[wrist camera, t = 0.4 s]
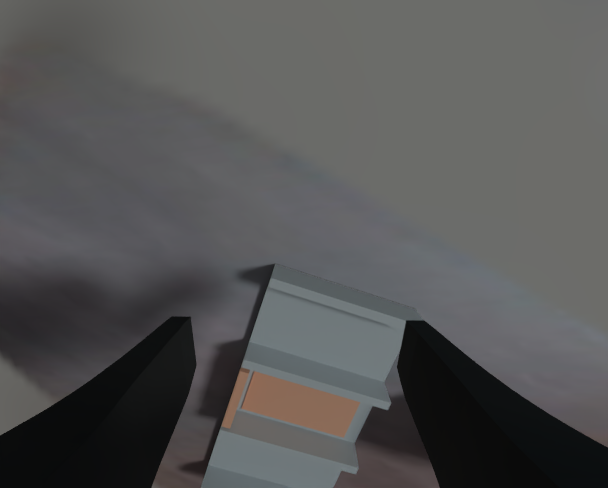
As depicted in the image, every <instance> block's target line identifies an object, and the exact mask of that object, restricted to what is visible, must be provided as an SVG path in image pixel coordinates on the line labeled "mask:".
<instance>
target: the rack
mask: <svg viewBox="0 0 608 488" xmlns="http://www.w3.org/2000/svg"><path fill="white" fill-rule="evenodd" d="M406 320H423V319H422V318H421V316H420V315H419V313H418V312H417V310H416V309H414V308H411V307H408V306H405V305H402V304H399V303H396V302H392V301H389V300H386V299H383V298H380V297H377V296H374V295H371V294H368V293H365V292H361V291H358V290H355V289H352V288H349V287H346V286H343V285H340V284H337V283H334V282H330V281H327V280H324V279H321V278H318V277H315V276H312V275H309V274H306V273H303V272H299V271H296V270H293V269H290V268H287V267H284V266H281V265H278V264H275V266H274V269H273V272H272V275H271V278H270V281H269V284H268V287H267V290H266V293H265V296H264V299H263V302H262V305H261V308H260V311H259V314H258V317H257V320H256V323H255V326H254V329H253V332H252V335H251V338H250V341H249V344H248V347H247V350H246V353H245V356H244V359H243V362H242V365H241V368H240V371H239V374H238V377H237V380H236V383H235V386H234V389H233V392H232V395H231V398H230V401H229V404H228V407H227V410H226V413H225V416H224V419H223V422H222V425H221V428H220V431H219V434H218V437H217V440H216V443H215V446H214V449H213V452H212V455H211V458H210V461H209V464H208V467H207V470H206V473H205V476H204V479H203V482H202V486H201V488H333V487H334V485H335V483H336V481H337V479H338V476H339V474H340V472H341V470H342V471H346V472H349V473H353V474H356V472H357V470H358V468H359V467H358V461H357V455H356V448H355V441H356V439H357V437H358V435H359V433H360V431H361V429H362V427H363V425H364V423H365V421H366V419H367V417H368V414H369V412H370V410H371V408H372V406H375V407H378V408H382V409H385V410H388V409H389V407H390V405H391V401H390V398H389V395H388V392H387V389H386V386H385V383H384V381H385V379H386V377H387V375H388V373H389V371H390V369H391V367H392V365H393V363H394V361H395V359H396V357H397V355H398V352H399V350H400V348H401V344H402V339H403V334H404V329H405V323H406ZM423 321H424V320H423Z"/></svg>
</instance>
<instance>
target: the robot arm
mask: <svg viewBox="0 0 608 488" xmlns="http://www.w3.org/2000/svg"><path fill="white" fill-rule="evenodd" d="M195 369H196V357H195V349H194V341H193V333H192V325H191V317H171V318H169V319H168V320H167V321H166V322H164V323H163V324H162V325H161V326H159V327H158V328H157V329H156V330H155V331H153V332H152V333H151V334H150V335H149V336H147V337H146V338H145V339H144V340H142V341H141V342H140V343H139V344H137V345H136V346H135V347H134V348H133V349H131V350H130V351H129V352H128V353H126V354H125V355H124V356H123V357H121V358H120V359H119V360H117V361H116V362H115V363H113V364H112V365H110V366H109V367H108V368H106V369H105V370H104V371H102V372H101V373H100V374H98V375H97V376H96V377H94V378H93V379H92V380H90V381H89V382H87V383H86V384H84V385H83V386H82V387H80V388H79V389H77V390H76V391H74V392H73V393H71V394H70V395H68V396H66V397H65V398H63V399H62V400H60V401H59V402H57V403H55V404H54V405H52V406H51V407H49V408H47V409H46V410H44V411H43V412H41V413H39V414H38V415H36V416H34V417H32V418H30V419H29V420H27V421H25V422H23V423H22V424H20V425H18V426H16V427H15V428H13V429H11V430H9V431H7V432H6V433H4V434H2V435H0V488H151V487H152V484H153V481H154V479H155V476H156V473H157V471H158V468H159V465H160V463H161V460H162V458H163V456H164V453H165V451H166V448H167V446H168V443H169V441H170V439H171V436H172V434H173V431H174V429H175V426H176V424H177V422H178V419H179V417H180V414H181V412H182V409H183V407H184V404H185V402H186V399H187V397H188V394H189V391H190V387H191V384H192V380H193V376H194V373H195ZM397 369H398V373H399V377H400V381H401V385H402V388H403V392H404V396H405V398H406V401H407V404H408V406H409V409H410V411H411V414H412V416H413V419H414V422H415V424H416V427H417V429H418V431H419V434H420V436H421V439H422V441H423V444H424V446H425V449H426V451H427V454H428V456H429V459H430V461H431V464H432V466H433V469H434V472H435V475H436V478H437V480H438V483H439V486H440V488H608V448H607V447H606V446H604V445H602V444H600V443H598V442H596V441H594V440H593V439H591V438H589V437H587V436H586V435H584V434H582V433H580V432H579V431H577V430H575V429H573V428H572V427H570V426H568V425H566V424H565V423H563V422H561V421H560V420H558V419H556V418H555V417H553V416H551V415H550V414H548V413H547V412H545V411H544V410H542V409H540V408H539V407H537V406H536V405H534V404H533V403H531V402H530V401H528V400H527V399H525V398H523V397H522V396H521V395H519V394H518V393H516V392H515V391H513V390H512V389H510V388H509V387H508V386H506V385H505V384H504V383H502V382H501V381H499V380H498V379H497V378H495V377H494V376H493V375H491V374H490V373H489V372H487V371H486V370H485V369H483V368H482V367H481V366H479V365H478V364H477V363H476V362H474V361H473V360H472V359H471V358H469V357H468V356H467V355H466V354H464V353H463V352H462V351H461V350H460V349H458V348H457V347H456V346H455V345H453V344H452V343H451V342H450V341H449V340H447V339H446V338H445V337H444V336H443V335H442V334H440V333H439V332H438V331H437V330H435V329H434V328H433V327H432V326H431V325H429V324H428V323H427V322H425V321H423V320H406V323H405V329H404V334H403V339H402V344H401V349H400V354H399V360H398V365H397Z"/></svg>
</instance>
